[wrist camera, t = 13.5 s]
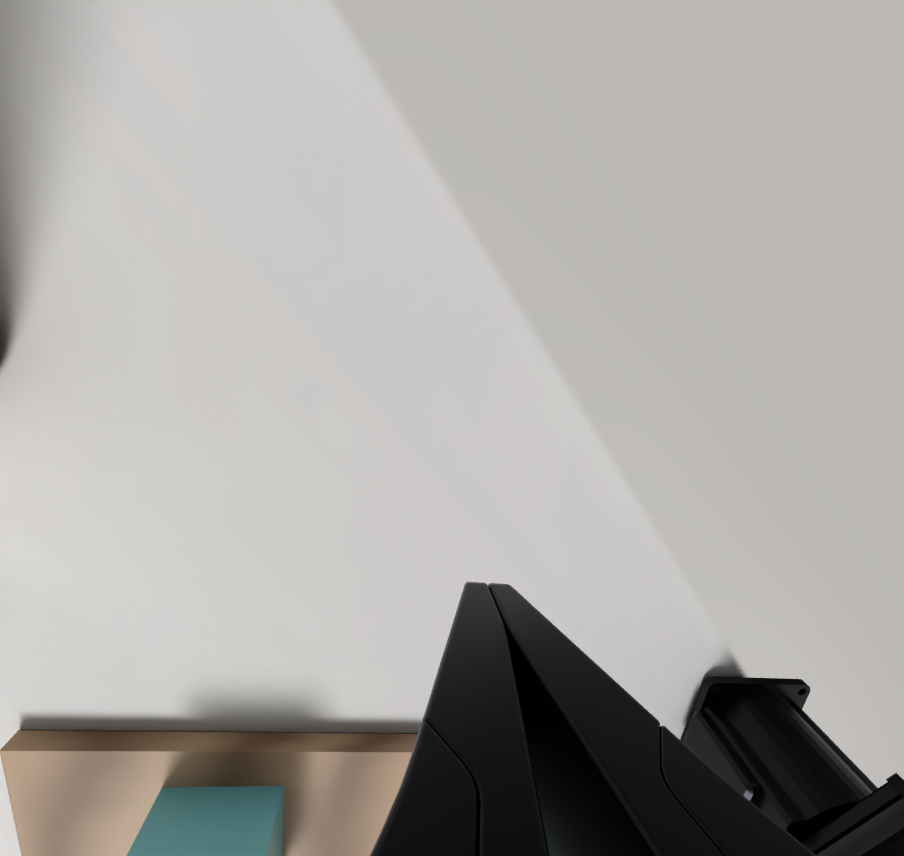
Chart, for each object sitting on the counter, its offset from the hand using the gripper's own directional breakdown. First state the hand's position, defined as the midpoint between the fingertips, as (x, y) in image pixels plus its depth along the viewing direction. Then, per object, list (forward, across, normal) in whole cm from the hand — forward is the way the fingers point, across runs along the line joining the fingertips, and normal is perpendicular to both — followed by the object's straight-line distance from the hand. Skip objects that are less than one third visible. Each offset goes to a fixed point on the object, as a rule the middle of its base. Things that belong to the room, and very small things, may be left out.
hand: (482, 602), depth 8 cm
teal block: (+10, +9, +23) cm, 27 cm away
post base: (+11, +9, +23) cm, 27 cm away
